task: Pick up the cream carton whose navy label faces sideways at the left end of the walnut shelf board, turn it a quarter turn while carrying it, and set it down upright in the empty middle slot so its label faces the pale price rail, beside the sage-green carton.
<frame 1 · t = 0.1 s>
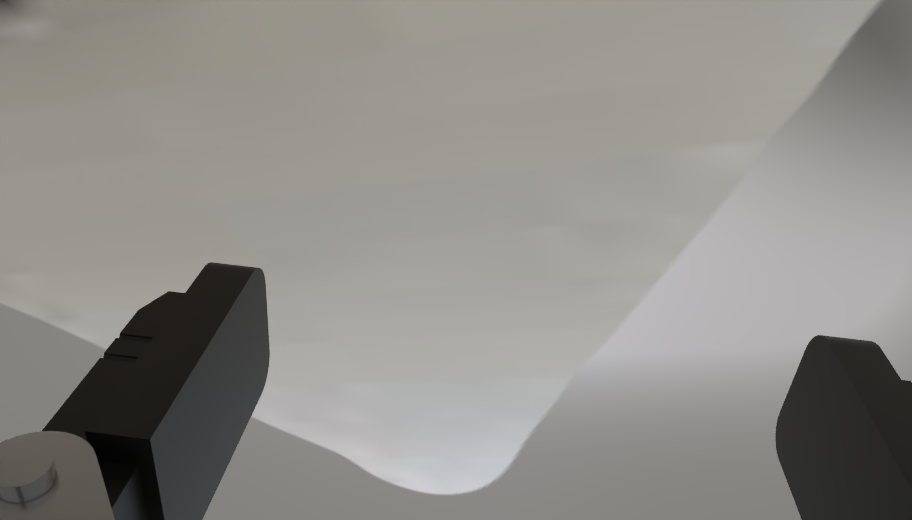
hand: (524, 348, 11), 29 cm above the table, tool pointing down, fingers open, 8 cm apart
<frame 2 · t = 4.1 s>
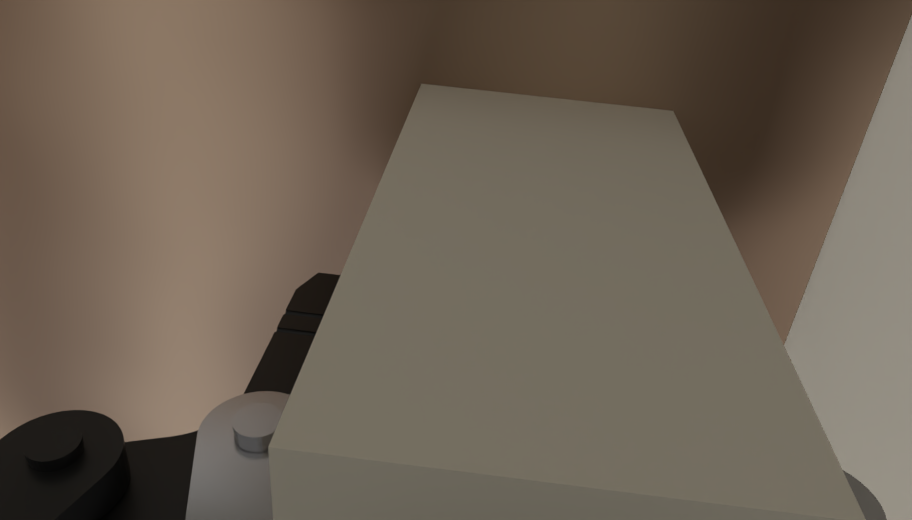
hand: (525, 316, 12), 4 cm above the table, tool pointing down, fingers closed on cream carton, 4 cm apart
cream carton: (522, 258, 13), point 2 cm above the table, touching gripper, walnut shelf
walnut shelf: (89, 159, 15), on the table
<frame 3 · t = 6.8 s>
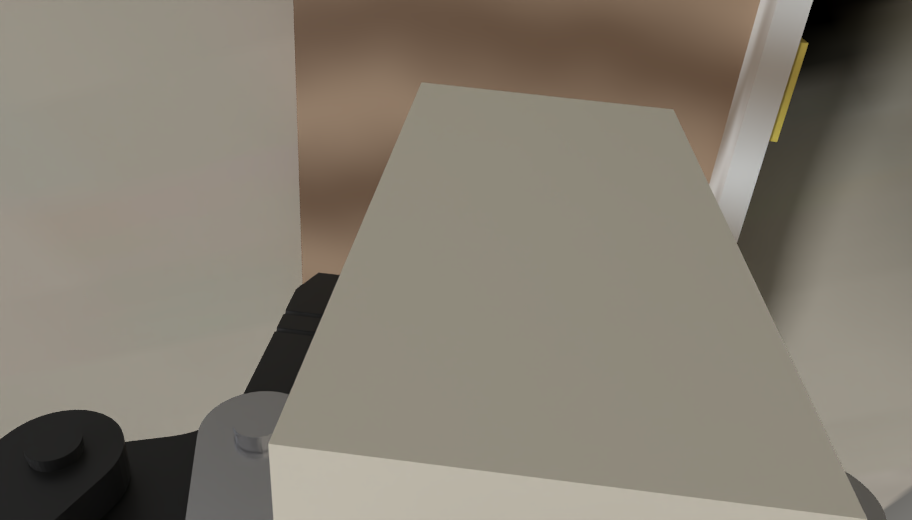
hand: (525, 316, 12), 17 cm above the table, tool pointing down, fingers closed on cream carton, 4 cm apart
cream carton: (522, 257, 13), point 16 cm above the table, touching gripper
walnut shelf: (529, 39, 27), on the table
when the fingers open (5 cm above the table, at t = 9.5 s): cream carton drops 1 cm, resting on walnut shelf.
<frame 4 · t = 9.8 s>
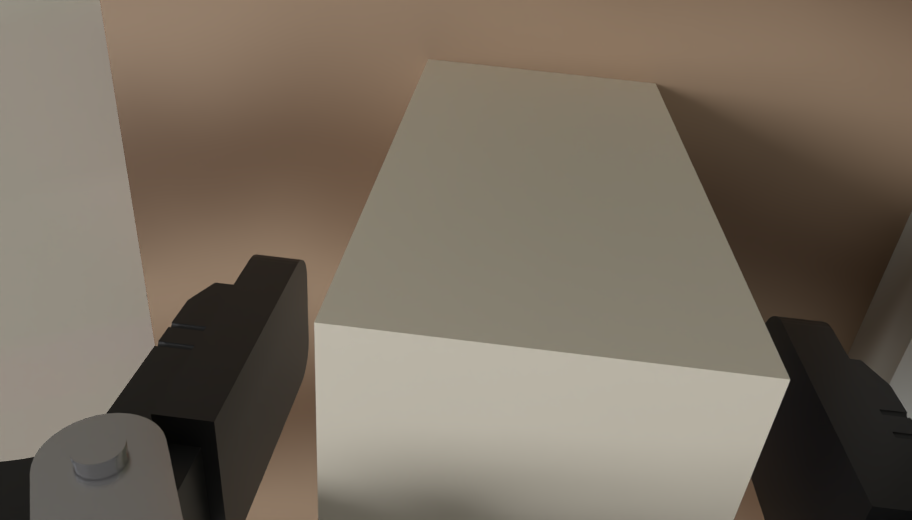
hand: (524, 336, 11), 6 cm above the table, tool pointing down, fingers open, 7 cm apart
cream carton: (519, 221, 15), point 2 cm above the table, touching walnut shelf
walnut shelf: (527, 178, 16), on the table
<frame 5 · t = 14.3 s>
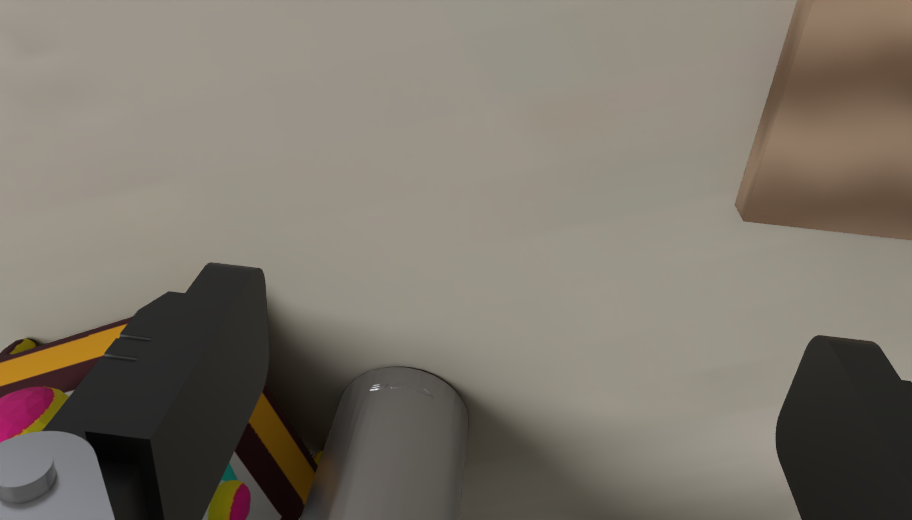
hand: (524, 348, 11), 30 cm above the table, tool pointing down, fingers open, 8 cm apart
decorative lantern: (183, 397, 54), on the table
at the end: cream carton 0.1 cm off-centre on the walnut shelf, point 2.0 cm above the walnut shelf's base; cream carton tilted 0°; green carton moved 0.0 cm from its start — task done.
